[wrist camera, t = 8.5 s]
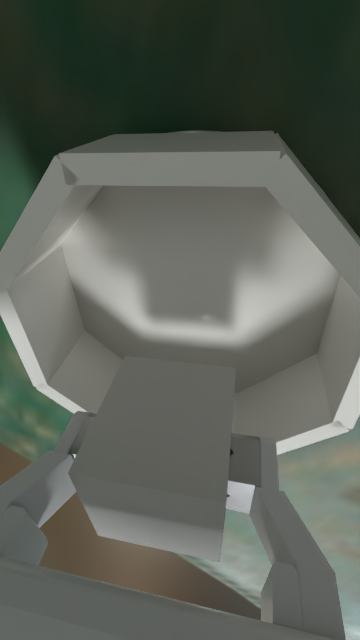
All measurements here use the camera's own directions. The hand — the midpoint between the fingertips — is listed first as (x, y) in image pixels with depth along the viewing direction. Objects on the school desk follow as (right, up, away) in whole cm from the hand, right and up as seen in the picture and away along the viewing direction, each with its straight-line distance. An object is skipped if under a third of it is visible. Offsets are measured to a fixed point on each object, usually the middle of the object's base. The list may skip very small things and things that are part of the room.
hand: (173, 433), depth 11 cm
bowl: (+1, +5, +3) cm, 6 cm away
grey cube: (0, +1, +1) cm, 2 cm away
